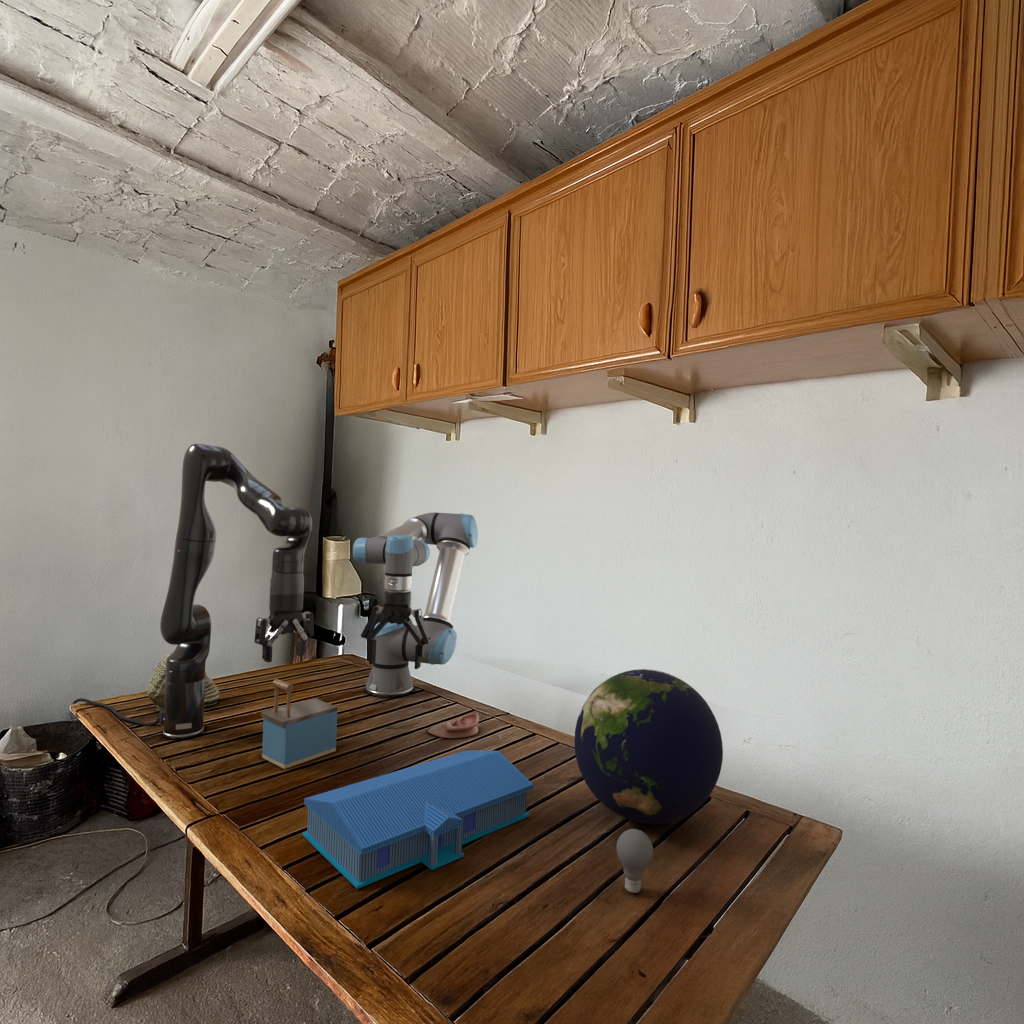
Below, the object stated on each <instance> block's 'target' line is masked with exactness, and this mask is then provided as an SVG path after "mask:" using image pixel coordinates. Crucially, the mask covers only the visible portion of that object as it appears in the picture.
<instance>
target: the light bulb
mask: <svg viewBox="0 0 1024 1024" xmlns="http://www.w3.org/2000/svg"><path fill="white" fill-rule="evenodd" d="M615 849H616V854H617V857H618V859H619V861H620V863H621V865H622V867H623V873H624V874H623V875H624V876H625V878H624V888H625V890H627V891H628V892H630V893H634V894H635V893H639V892H640V891H641V889H642V887H641V886H642V879H643V877H644V875H645V871H646V868H647V867H648V866H649V864H650V863H651V861H652V859H653V855H654V847H653V843H652V841H651V838H649V836H648V835H647V834H646V833H645V832H643V831H642V830H641V829H636V828H629V829H627V830H625V831H623V832H622V833H621V834H620V835H619V837H618V839H617V841H616V847H615Z"/></svg>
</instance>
